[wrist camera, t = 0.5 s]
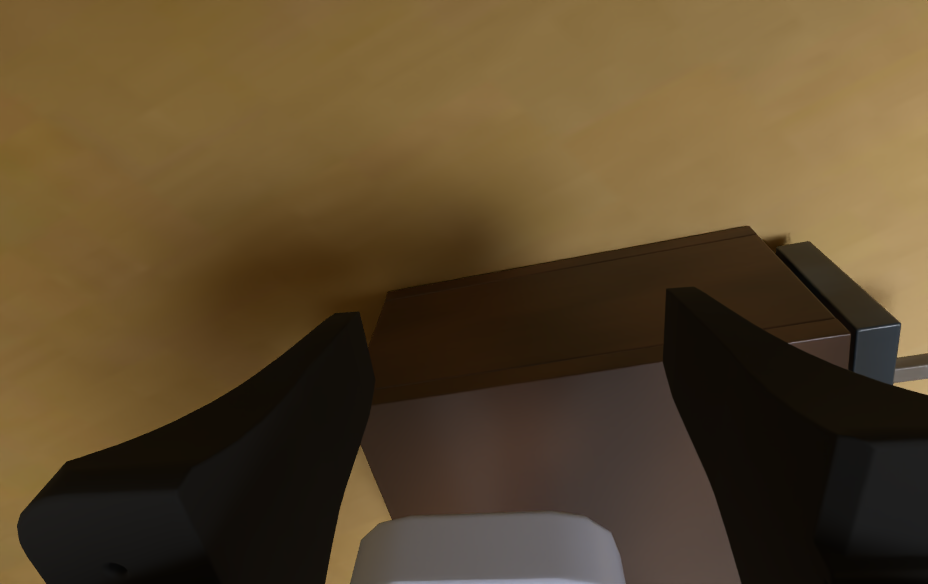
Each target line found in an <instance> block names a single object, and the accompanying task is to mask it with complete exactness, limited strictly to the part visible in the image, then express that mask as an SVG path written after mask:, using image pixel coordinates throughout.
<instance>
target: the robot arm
mask: <svg viewBox="0 0 928 584" xmlns="http://www.w3.org/2000/svg"><path fill="white" fill-rule="evenodd" d="M663 365H664V369H665V373H666V377H667V380H668V384H669V387H670V391H671V394H672V398H673V400H674V403H675V405H676V407H677V410H678V412H679V414H680V416H681V419H682V421H683V423H684V426H685V428H686V430H687V432H688V434H689V437H690V439H691V441H692V443H693V446H694V448H695V450H696V452H697V455H698V457H699V459H700V461H701V463H702V466H703V468H704V470H705V472H706V475H707V477H708V480H709V482H710V485H711V487H712V490H713V492H714V495H715V498H716V501H717V505H718V508H719V511H720V514H721V517H722V520H723V524H724V527H725V530H726V533H727V536H728V540H729V543H730V547H731V550H732V553H733V557H734V560H735V563H736V567H737V570H738V574H739V577H740V581H741V584H928V395H925V394H921V393H917V392H914V391H910V390H906V389H903V388H900V387H897V386H893V385H890V384H887V383H884V382H881V381H878V380H875V379H872V378H869V377H866V376H864V375H861V374H858V373H855V372H852V371H850V370H847V369H844V368H842V367H839V366H837V365H834V364H832V363H830V362H827V361H825V360H823V359H821V358H818V357H816V356H814V355H811V354H809V353H807V352H805V351H803V350H801V349H799V348H797V347H795V346H793V345H791V344H789V343H787V342H785V341H783V340H781V339H780V338H778V337H776V336H774V335H772V334H770V333H768V332H767V331H765V330H763V329H762V328H760V327H758V326H756V325H755V324H753V323H751V322H750V321H748V320H747V319H745V318H743V317H742V316H740V315H739V314H737V313H735V312H734V311H732V310H731V309H729V308H728V307H726V306H725V305H723V304H722V303H720V302H718V301H717V300H715V299H714V298H712V297H711V296H709V295H708V294H706V293H705V292H703V291H701V290H700V289H698V288H696V287H694V286H692V287H678V288H666V302H665V323H664V344H663ZM375 381H376V379H375V375H374V371H373V367H372V363H371V358H370V354H369V350H368V346H367V342H366V338H365V333H364V329H363V325H362V321H361V317H360V312H346V313H335V314H333V315H332V316H330V317H329V318H327V319H326V320H325V321H323V322H322V323H321V324H320V325H318V326H317V327H316V328H315V329H314V330H312V331H311V332H310V333H309V334H307V335H306V336H305V337H304V338H303V339H301V340H300V341H299V342H298V343H296V344H295V345H294V346H293V347H291V348H290V349H289V350H288V351H286V352H285V353H284V354H283V355H281V356H280V357H279V358H277V359H276V360H275V361H273V362H272V363H271V364H269V365H268V366H267V367H265V368H264V369H262V370H261V371H260V372H258V373H257V374H256V375H254V376H253V377H251V378H250V379H249V380H247V381H246V382H244V383H243V384H241V385H239V386H238V387H236V388H235V389H233V390H231V391H230V392H228V393H226V394H225V395H223V396H221V397H220V398H218V399H216V400H215V401H213V402H211V403H209V404H207V405H205V406H203V407H201V408H199V409H197V410H196V411H194V412H192V413H190V414H188V415H186V416H184V417H182V418H180V419H178V420H176V421H174V422H172V423H170V424H167V425H165V426H163V427H161V428H158V429H156V430H154V431H151V432H149V433H146V434H144V435H142V436H139V437H137V438H134V439H132V440H129V441H126V442H124V443H121V444H118V445H116V446H113V447H110V448H107V449H104V450H101V451H98V452H95V453H92V454H89V455H86V456H83V457H80V458H77V459H74V460H71V461H67V462H66V463H65V464H64V465H63V466H62V467H61V468H60V470H59V471H58V472H57V473H56V474H55V475H54V476H53V478H52V479H51V480H50V481H49V482H48V483H47V484H46V486H45V487H44V488H43V489H42V490H41V491H40V492H39V494H38V495H37V496H36V497H35V498H34V499H33V500H32V502H31V503H30V504H29V505H28V506H27V507H26V508H25V509H24V511H23V512H22V513H21V514H20V518H19V521H18V524H17V529H18V536H19V541H20V544H21V546H22V548H23V550H24V552H25V553H26V555H27V557H28V558H29V560H30V561H31V563H32V564H33V565H34V567H35V568H36V570H37V571H38V572H39V574H40V575H41V577H42V578H43V579H44V581H45V582H46V584H325V580H326V575H327V570H328V564H329V559H330V554H331V548H332V543H333V538H334V534H335V529H336V524H337V519H338V515H339V510H340V506H341V502H342V499H343V495H344V492H345V488H346V485H347V482H348V479H349V476H350V473H351V470H352V467H353V464H354V461H355V458H356V455H357V452H358V450H359V447H360V444H361V440H362V437H363V434H364V431H365V428H366V425H367V422H368V419H369V415H370V410H371V405H372V400H373V393H374V387H375ZM350 584H626V583H625V578H624V573H623V568H622V562H621V557H620V553H619V551H618V548H617V546H616V543H615V541H614V538H613V536H612V534H611V532H610V531H608V530H607V529H605V528H603V527H602V526H600V525H599V524H597V523H596V522H594V521H592V520H591V519H589V518H588V517H586V516H583V515H578V514H571V513H564V512H557V511H529V512H500V513H471V514H443V515H414V516H407V517H403V518H399V519H395V520H390V521H386V522H382V523H379V524H378V525H377V526H376V527H375V528H374V529H373V530H371V531H370V532H369V533H368V534H367V535H366V536H365V537H364V538H363V539H362V540H361V543H360V547H359V551H358V554H357V558H356V562H355V566H354V570H353V574H352V578H351V582H350Z"/></svg>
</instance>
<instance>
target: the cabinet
mask: <svg viewBox="0 0 928 584" xmlns="http://www.w3.org/2000/svg"><path fill="white" fill-rule="evenodd" d="M692 286H694V287H696V288H698V289H700V290H701V291H703V292H705V293H706V294H708V295H709V296H711V297H712V298H714V299H715V300H717V301H718V302H720V303H722V304H723V305H725V306H726V307H728V308H729V309H731V310H732V311H734V312H735V313H737V314H739V315H740V316H742V317H743V318H745V319H747V320H748V321H750V322H751V323H753V324H755V325H756V326H758V327H760V328H762V329H763V330H765V331H767V332H768V333H770V334H772V335H774V336H776V337H778V338H780V339H781V340H783V341H785V342H787V343H789V344H791V345H793V346H795V347H797V348H799V349H801V350H803V351H805V352H807V353H809V354H811V355H814V356H816V357H818V358H821V359H823V360H825V361H827V362H830V363H832V364H834V365H837V366H839V367H842V368H844V369H847V370H848V363H849V351H850V340H851V333H850V332H849V331H848V330H847V329H846V328H845V327H844V325H843V324H842V323H841V322H840V321H839V320H838V319H836V318H835V317H834V316H833V314H832V313H831V312H830V311H829V310H828V309H827V308H826V307H825V306H824V305H823V304H822V303H821V302H820V301H819V300H818V299H817V298H816V296H815V295H814V294H813V293H812V292H811V291H810V290H809V289H808V288H807V287H806V286H805V285H804V284H803V283H802V282H801V281H800V280H799V279H798V277H797V276H796V275H795V274H794V273H793V272H792V271H791V270H790V269H789V268H788V267H787V266H786V265H785V264H784V263H783V262H782V261H781V259H780V258H779V257H778V256H777V255H776V254H775V253H774V252H773V251H772V250H771V249H770V248H769V247H768V246H767V245H766V244H765V243H764V242H763V240H762V239H761V238H760V237H759V236H758V235H757V234H756V233H755V232H754V231H753V229H752V228H751V227H750V226H747V227H741V228H736V229H730V230H725V231H719V232H714V233H708V234H703V235H697V236H692V237H686V238H681V239H675V240H670V241H664V242H659V243H653V244H648V245H642V246H637V247H632V248H626V249H621V250H615V251H610V252H604V253H599V254H593V255H588V256H582V257H577V258H571V259H566V260H560V261H555V262H549V263H544V264H538V265H533V266H527V267H522V268H517V269H511V270H506V271H500V272H495V273H489V274H484V275H478V276H473V277H467V278H462V279H456V280H451V281H445V282H440V283H434V284H429V285H423V286H418V287H412V288H407V289H402V290H396V291H391V292H388V294H387V296H386V299H385V303H384V305H383V308H382V311H381V314H380V316H379V319H378V322H377V325H376V328H375V330H374V333H373V336H372V339H371V341H370V344H369V347H368V350H369V354H370V358H371V363H372V367H373V371H374V375H375V379H376V381H375V387H374V393H373V400H372V405H371V410H370V415H369V419H368V422H367V425H366V428H365V431H364V434H363V437H362V440H361V444H360V445H361V447H362V449H363V452H364V454H365V456H366V459H367V461H368V464H369V466H370V468H371V471H372V473H373V475H374V478H375V480H376V483H377V485H378V487H379V490H380V492H381V494H382V497H383V499H384V502H385V504H386V506H387V509H388V511H389V513H390V516H391V518H392V520H395V519H399V518H403V517H407V516H414V515H443V514H471V513H500V512H529V511H557V512H564V513H571V514H578V515H583V516H586V517H588V518H589V519H591V520H592V521H594V522H596V523H597V524H599V525H600V526H602V527H603V528H605V529H607V530H608V531H610V532H611V534H612V536H613V538H614V541H615V543H616V546H617V548H618V551H619V553H620V557H621V562H622V568H623V573H624V578H625V583H626V584H741V581H740V577H739V574H738V570H737V567H736V563H735V560H734V557H733V553H732V550H731V547H730V543H729V540H728V536H727V533H726V530H725V527H724V524H723V520H722V517H721V514H720V511H719V508H718V505H717V501H716V498H715V495H714V492H713V490H712V487H711V485H710V482H709V480H708V477H707V475H706V472H705V470H704V468H703V466H702V463H701V461H700V459H699V457H698V455H697V452H696V450H695V448H694V446H693V443H692V441H691V439H690V437H689V434H688V432H687V430H686V428H685V426H684V423H683V421H682V419H681V416H680V414H679V412H678V410H677V407H676V405H675V403H674V400H673V398H672V394H671V391H670V387H669V384H668V380H667V377H666V373H665V369H664V365H663V344H664V323H665V302H666V288H678V287H692Z"/></svg>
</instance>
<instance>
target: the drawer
mask: <svg viewBox="0 0 928 584" xmlns="http://www.w3.org/2000/svg"><path fill="white" fill-rule="evenodd" d="M776 255H777V256H778V257H779V258H780V259H781V261H782V262H783V263H784V264H785V265H786V266H787V267H788V268H789V269H790V270H791V271H792V272H793V273H794V274H795V275H796V276H797V277H798V279H799V280H800V281H801V282H802V283H803V284H804V285H805V286H806V287H807V288H808V289H809V290H810V291H811V292H812V293H813V294H814V295H815V296H816V298H817V299H818V300H819V301H820V302H821V303H822V304H823V305H824V306H825V307H826V308H827V309H828V310H829V311H830V312H831V313H832V314H833V316H834V317H835V318H836V319H838V320H839V321H840V322H841V323H842V324H843V325H844V327H845V328H846V329H847V330H848V331H849V332H850V333H851V340H850V351H849V363H848V370H850V371H852V372H855V373H858V374H861V375H864V376H866V377H869V378H872V379H875V380H878V381H881V382H884V383H887V384H890V385H893V383H898V382H905V381H913V380H920V379H928V353H927V354H920V355H913V356H906V357H899V358H897V352H898V344H899V337H900V329H901V323H900V322H899V321H898V320H897V319H896V318H895V317H893V316H892V315H891V314H890V313H889V312H888V311H887V310H886V309H885V308H883V307H882V306H881V305H880V304H879V303H878V302H877V301H876V300H874V299H873V298H872V297H871V296H870V295H869V294H868V293H867V292H866V291H864V290H863V289H862V288H861V287H860V286H859V285H858V284H857V283H856V282H854V281H853V280H852V279H851V278H850V277H849V276H848V275H847V274H845V273H844V272H843V271H842V270H841V269H840V268H839V267H838V266H837V265H835V264H834V263H833V262H832V261H831V260H830V259H829V258H828V257H827V256H825V255H824V254H823V253H822V252H821V251H820V250H819V249H818V248H816V247H815V246H814V245H813V244H812V243H811V242H809V241H807V242H801V243H795V244H790V245H784V246H778V247H776Z"/></svg>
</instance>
